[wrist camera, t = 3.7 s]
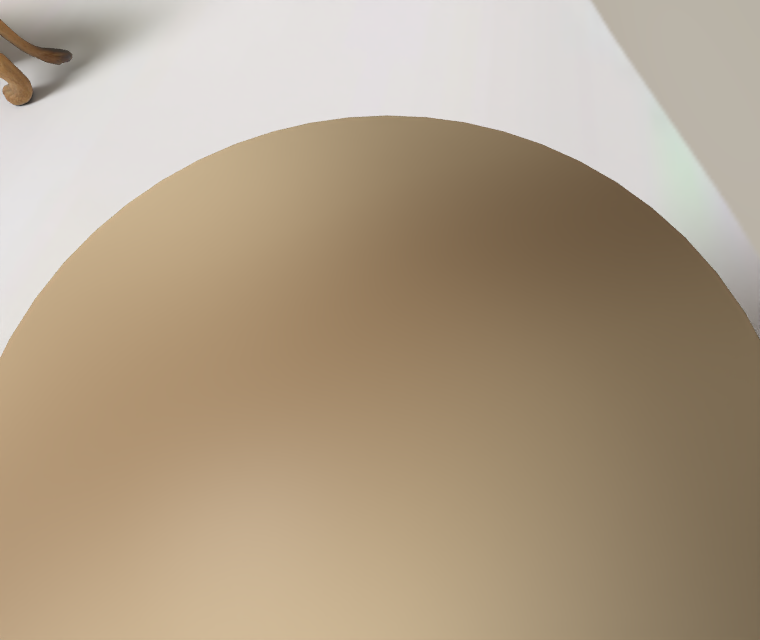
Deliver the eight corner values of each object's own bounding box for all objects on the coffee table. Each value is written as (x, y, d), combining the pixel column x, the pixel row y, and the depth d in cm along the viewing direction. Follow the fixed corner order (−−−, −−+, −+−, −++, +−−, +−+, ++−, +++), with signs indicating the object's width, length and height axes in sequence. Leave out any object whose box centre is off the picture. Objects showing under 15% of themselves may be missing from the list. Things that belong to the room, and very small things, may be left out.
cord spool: (562, 572, 15) (976, 414, 4) (393, 764, 14) (298, 1444, 2) (404, 411, 18) (391, 38, 7) (243, 555, 16) (-159, 378, 5)
